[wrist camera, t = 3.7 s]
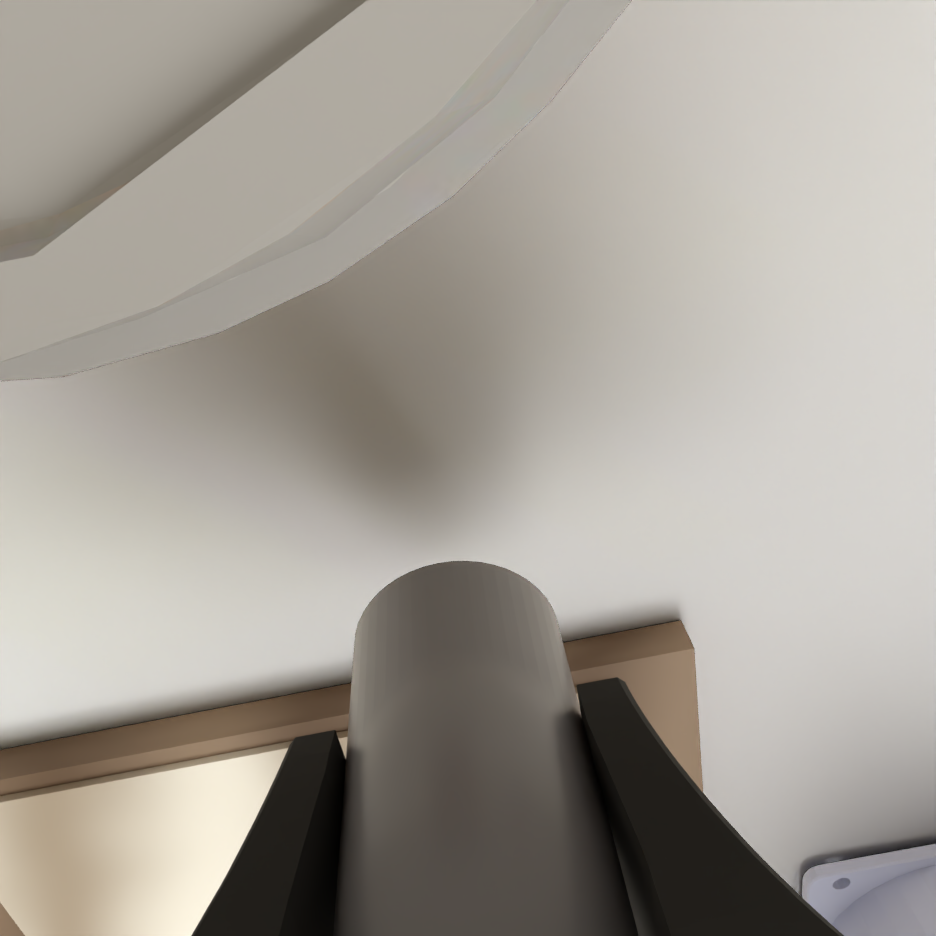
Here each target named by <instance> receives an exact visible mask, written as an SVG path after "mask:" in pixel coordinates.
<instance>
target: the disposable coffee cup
mask: <svg viewBox="0 0 936 936" xmlns="http://www.w3.org/2000/svg"><path fill="white" fill-rule="evenodd" d="M631 1H632V0H0V381H10V380H25V379H39V378H53V377H65V376H68V375H72V374H75V373H79V372H82V371H86V370H90V369H93V368H97V367H100V366H104V365H107V364H111V363H115V362H118V361H122V360H125V359H129V358H132V357H136V356H139V355H143V354H147V353H150V352H154V351H157V350H161V349H164V348H168V347H171V346H175V345H179V344H182V343H186V342H189V341H193V340H196V339H200V338H203V337H207V336H211V335H214V334H218V333H220V332H222V331H224V330H227V329H229V328H231V327H233V326H235V325H237V324H239V323H242V322H244V321H246V320H248V319H250V318H252V317H254V316H257V315H259V314H261V313H263V312H265V311H267V310H269V309H271V308H274V307H276V306H278V305H280V304H282V303H284V302H286V301H289V300H291V299H293V298H295V297H297V296H299V295H301V294H304V293H306V292H308V291H310V290H312V289H314V288H316V287H319V286H321V285H323V284H325V283H327V282H329V281H331V280H332V279H333V278H335V277H336V276H338V275H339V274H341V273H342V272H344V271H345V270H347V269H348V268H349V267H351V266H352V265H354V264H355V263H357V262H358V261H360V260H361V259H363V258H364V257H365V256H367V255H368V254H370V253H371V252H373V251H374V250H376V249H377V248H379V247H380V246H381V245H383V244H384V243H386V242H387V241H389V240H390V239H392V238H393V237H395V236H396V235H397V234H399V233H400V232H402V231H403V230H405V229H406V228H408V227H409V226H411V225H412V224H414V223H415V222H416V221H418V220H419V219H421V218H422V217H424V216H425V215H427V214H428V213H430V212H431V211H432V210H434V209H435V208H437V207H438V206H440V205H441V204H443V203H444V202H446V201H447V200H448V199H450V198H451V197H453V196H454V195H455V194H456V193H457V192H458V191H459V190H460V189H461V188H462V187H463V186H464V185H465V184H466V183H467V182H468V181H469V180H470V179H471V178H472V177H474V176H475V175H476V174H477V173H478V172H479V171H480V170H481V169H482V168H483V167H484V166H485V165H486V164H487V163H488V162H489V161H490V160H491V159H492V158H493V157H494V156H495V155H496V154H497V153H498V152H499V151H500V150H501V149H502V148H503V147H504V146H505V145H507V144H508V143H509V142H510V141H511V140H512V139H513V138H514V137H515V136H516V135H517V134H518V133H519V132H520V131H521V130H522V129H523V128H524V127H525V126H526V125H527V124H528V123H529V122H530V121H531V120H532V119H533V118H534V117H535V116H536V115H537V114H538V113H540V112H541V111H542V110H543V109H544V108H545V107H546V106H547V105H548V104H549V103H550V102H551V101H552V99H553V98H554V97H555V96H556V94H557V93H558V92H559V91H560V89H561V88H562V87H563V86H564V84H565V83H566V82H567V81H568V79H569V78H570V77H571V76H572V74H573V73H574V72H575V71H576V69H577V68H578V67H579V66H580V64H581V63H582V62H583V61H584V60H585V58H586V57H587V56H588V55H589V53H590V52H591V51H592V50H593V48H594V47H595V46H596V45H597V43H598V42H599V41H600V40H601V38H602V37H603V36H604V35H605V33H606V32H607V31H608V30H609V28H610V27H611V26H612V25H613V23H614V22H615V21H616V20H617V18H618V17H619V16H620V15H621V13H622V12H623V11H624V10H625V8H626V7H627V6H628V5H629V3H630V2H631Z"/></svg>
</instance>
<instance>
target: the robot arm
mask: <svg viewBox="0 0 936 936" xmlns="http://www.w3.org/2000/svg"><path fill="white" fill-rule="evenodd" d="M576 686H577V692H578V699H579V705H580V711H581V718H582V722H583V726H584V729H585V733H586V737H587V741H588V745H589V749H590V753H591V757H592V760H593V764H594V768H595V772H596V775H597V778H598V782H599V785H600V788H601V792H602V795H603V799H604V803H605V807H606V811H607V815H608V819H609V822H610V826H611V830H612V834H613V838H614V842H615V846H616V849H617V853H618V857H619V861H620V865H621V869H622V873H623V876H624V880H625V884H626V888H627V892H628V896H629V900H630V903H631V907H632V911H633V915H634V919H635V923H636V927H637V930H638V934H639V936H936V844H930V845H925V846H920V847H914V848H909V849H903V850H898V851H892V852H887V853H881V854H876V855H871V856H865V857H860V858H854V859H849V860H843V861H838V862H832V863H827V864H822V865H817V866H814V867H812V868H810V869H809V870H807V872H806V873H805V874H804V876H803V881H802V897H801V896H800V895H799V894H798V893H797V892H796V891H795V890H794V889H793V888H792V887H791V886H790V885H788V884H787V883H786V882H785V881H784V880H783V879H782V878H781V877H780V876H779V875H778V874H777V873H776V872H775V871H774V870H773V869H772V868H771V867H770V866H769V865H768V864H767V863H766V862H765V861H764V860H763V859H762V858H761V857H760V856H759V855H758V854H757V853H756V851H755V850H754V849H753V848H752V847H751V846H750V845H749V844H748V843H747V842H746V841H745V840H744V839H743V838H742V837H741V835H740V834H739V833H738V832H737V831H736V830H735V829H734V828H733V827H732V826H731V824H730V823H729V822H728V821H727V820H726V819H725V818H724V817H723V816H722V814H721V813H720V812H719V811H718V810H717V809H716V808H715V806H714V805H713V804H712V803H711V802H710V801H709V799H708V798H707V797H706V796H705V795H704V793H703V792H702V791H701V790H700V788H699V787H698V786H697V785H696V784H695V782H694V781H693V780H692V779H691V777H690V776H689V775H688V774H687V772H686V771H685V770H684V769H683V767H682V766H681V765H680V764H679V762H678V761H677V760H676V758H675V757H674V756H673V755H672V753H671V752H670V751H669V749H668V748H667V747H666V745H665V744H664V742H663V741H662V740H661V738H660V737H659V735H658V734H657V733H656V731H655V730H654V728H653V727H652V725H651V724H650V722H649V721H648V719H647V718H646V716H645V715H644V713H643V712H642V710H641V709H640V707H639V706H638V704H637V702H636V701H635V699H634V697H633V696H632V694H631V692H630V690H629V688H628V686H627V684H626V682H625V681H623V680H621V679H619V678H618V677H615V678H610V679H605V680H599V681H594V682H589V683H583V684H578V685H576ZM345 765H346V759H345V756H344V753H343V750H342V747H341V745H340V742H339V739H338V736H337V733H336V731H335V730H332V731H326V732H321V733H316V734H310V735H305V736H300V737H295V738H294V740H293V741H292V742H291V744H290V745H289V748H288V750H287V752H286V754H285V757H284V759H283V761H282V763H281V766H280V768H279V770H278V772H277V774H276V777H275V779H274V781H273V783H272V785H271V787H270V790H269V792H268V794H267V796H266V798H265V800H264V802H263V804H262V806H261V808H260V810H259V812H258V814H257V817H256V819H255V821H254V823H253V825H252V827H251V829H250V830H249V832H248V834H247V836H246V838H245V840H244V842H243V844H242V846H241V848H240V850H239V852H238V854H237V856H236V857H235V859H234V861H233V863H232V865H231V867H230V869H229V871H228V873H227V875H226V876H225V878H224V880H223V882H222V884H221V885H220V887H219V889H218V890H217V892H216V894H215V896H214V897H213V899H212V901H211V903H210V904H209V906H208V908H207V909H206V911H205V913H204V915H203V916H202V918H201V920H200V922H199V923H198V925H197V927H196V928H195V930H194V932H193V934H192V935H191V936H333V934H334V920H335V906H336V892H337V877H338V863H339V849H340V835H341V821H342V807H343V793H344V779H345Z"/></svg>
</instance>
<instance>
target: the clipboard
mask: <svg viewBox="0 0 936 936" xmlns="http://www.w3.org/2000/svg"><path fill="white" fill-rule="evenodd" d="M563 645H564V649H565V653H566V656H567V660H568V664H569V668H570V672H571V676H572V680H573V683H574V687H575V691H576V695H577V699H578V692H577V686H576V685H578V684H583V683H589V682H594V681H599V680H605V679H610V678H615V677H618V678H619V679H621V680H623V681H625V682H626V684H627V686H628V688H629V690H630V692H631V694H632V696H633V697H634V699H635V701H636V702H637V704H638V706H639V707H640V709H641V710H642V712H643V713H644V715H645V716H646V718H647V719H648V721H649V722H650V724H651V725H652V727H653V728H654V730H655V731H656V733H657V734H658V735H659V737H660V738H661V740H662V741H663V742H664V744H665V745H666V747H667V748H668V749H669V751H670V752H671V753H672V755H673V756H674V757H675V758H676V760H677V761H678V762H679V764H680V765H681V766H682V767H683V769H684V770H685V771H686V772H687V774H688V775H689V776H690V777H691V779H692V780H693V781H694V782H695V784H696V785H697V786H698V787H699V788H700V790H701V791H702V792H703V785H702V769H701V752H700V736H699V719H698V703H697V686H696V670H695V653H694V647H693V645H692V643H691V640H690V638H689V636H688V634H687V632H686V630H685V628H684V625H683V623H682V621H681V620H680V621H675V622H670V623H664V624H659V625H654V626H649V627H643V628H638V629H633V630H628V631H622V632H617V633H612V634H607V635H601V636H596V637H591V638H586V639H580V640H575V641H570V642H565V643H563ZM350 695H351V683H349V684H344V685H339V686H333V687H328V688H323V689H318V690H312V691H307V692H302V693H297V694H291V695H286V696H281V697H276V698H270V699H265V700H260V701H255V702H249V703H244V704H239V705H234V706H228V707H223V708H218V709H213V710H207V711H202V712H197V713H192V714H186V715H181V716H176V717H170V718H165V719H160V720H155V721H149V722H144V723H139V724H134V725H128V726H123V727H118V728H113V729H107V730H102V731H97V732H92V733H86V734H81V735H76V736H71V737H65V738H60V739H55V740H50V741H44V742H39V743H34V744H29V745H23V746H18V747H13V748H8V749H2V750H0V936H191V935H192V934H193V932H194V930H195V928H196V927H197V925H198V923H199V922H200V920H201V918H202V916H203V915H204V913H205V911H206V909H207V908H208V906H209V904H210V903H211V901H212V899H213V897H214V896H215V894H216V892H217V890H218V889H219V887H220V885H221V884H222V882H223V880H224V878H225V876H226V875H227V873H228V871H229V869H230V867H231V865H232V863H233V861H234V859H235V857H236V856H237V854H238V852H239V850H240V848H241V846H242V844H243V842H244V840H245V838H246V836H247V834H248V832H249V830H250V829H251V827H252V825H253V823H254V821H255V819H256V817H257V814H258V812H259V810H260V808H261V806H262V804H263V802H264V800H265V798H266V796H267V794H268V792H269V790H270V787H271V785H272V783H273V781H274V779H275V777H276V774H277V772H278V770H279V768H280V766H281V763H282V761H283V759H284V757H285V754H286V752H287V750H288V748H289V745H290V744H291V742H292V741H293V740H294V738H295V737H300V736H305V735H310V734H316V733H321V732H326V731H332V730H335V731H336V733H337V736H338V739H339V742H340V745H341V747H342V750H343V753H344V756H345V759H346V751H347V737H348V723H349V709H350ZM578 703H579V699H578ZM579 707H580V705H579Z"/></svg>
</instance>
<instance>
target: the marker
mask: <svg viewBox="0 0 936 936" xmlns="http://www.w3.org/2000/svg"><path fill="white" fill-rule="evenodd" d="M333 936H639V934H638V930H637V927H636V923H635V919H634V915H633V911H632V907H631V903H630V900H629V896H628V892H627V888H626V884H625V880H624V876H623V873H622V869H621V865H620V861H619V857H618V853H617V849H616V846H615V842H614V838H613V834H612V830H611V826H610V822H609V819H608V815H607V811H606V807H605V803H604V799H603V795H602V792H601V788H600V785H599V782H598V778H597V775H596V772H595V768H594V764H593V760H592V757H591V753H590V749H589V745H588V741H587V737H586V733H585V729H584V726H583V722H582V718H581V711H580V707H579V703H578V699H577V695H576V691H575V687H574V683H573V680H572V676H571V672H570V668H569V664H568V660H567V656H566V653H565V649H564V645H563V641H562V637H561V633H560V629H559V626H558V622H557V618H556V615H555V613H554V610H553V608H552V606H551V605H550V603H549V602H548V600H547V598H546V597H545V596H544V595H543V594H542V593H541V591H540V590H539V589H538V588H537V587H535V586H534V585H533V584H532V583H531V582H529V581H528V580H526V579H525V578H523V577H522V576H520V575H518V574H516V573H514V572H512V571H510V570H508V569H505V568H502V567H499V566H496V565H492V564H487V563H482V562H472V561H451V562H444V563H437V564H433V565H429V566H425V567H422V568H419V569H416V570H414V571H411V572H409V573H407V574H405V575H403V576H401V577H399V578H397V579H396V580H394V581H393V582H391V583H390V584H388V585H387V586H386V587H385V588H384V589H382V590H381V591H380V592H379V593H378V594H377V595H376V596H375V597H374V598H373V599H372V601H371V602H370V603H369V604H368V606H367V607H366V609H365V610H364V612H363V614H362V616H361V618H360V620H359V622H358V626H357V629H356V633H355V641H354V653H353V667H352V681H351V695H350V709H349V723H348V737H347V751H346V765H345V779H344V793H343V807H342V821H341V835H340V849H339V863H338V877H337V892H336V906H335V920H334V934H333Z"/></svg>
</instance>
